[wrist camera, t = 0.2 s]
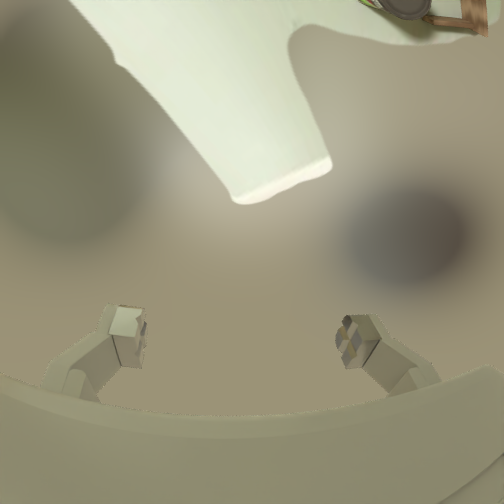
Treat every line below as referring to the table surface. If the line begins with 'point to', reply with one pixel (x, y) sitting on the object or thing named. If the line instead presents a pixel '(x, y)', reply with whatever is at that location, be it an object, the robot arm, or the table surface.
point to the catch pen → (466, 17)
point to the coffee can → (401, 7)
